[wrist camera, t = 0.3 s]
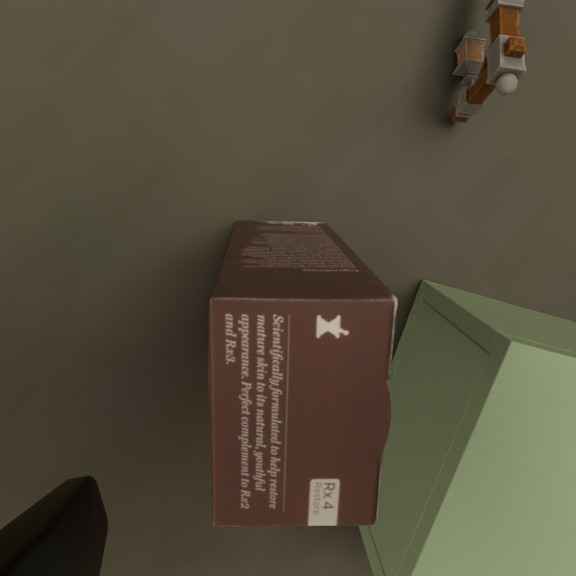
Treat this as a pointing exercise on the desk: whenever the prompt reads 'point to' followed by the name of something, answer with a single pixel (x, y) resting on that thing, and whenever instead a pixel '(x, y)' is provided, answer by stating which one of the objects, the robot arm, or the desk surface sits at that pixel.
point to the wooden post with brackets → (490, 58)
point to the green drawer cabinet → (478, 442)
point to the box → (297, 379)
